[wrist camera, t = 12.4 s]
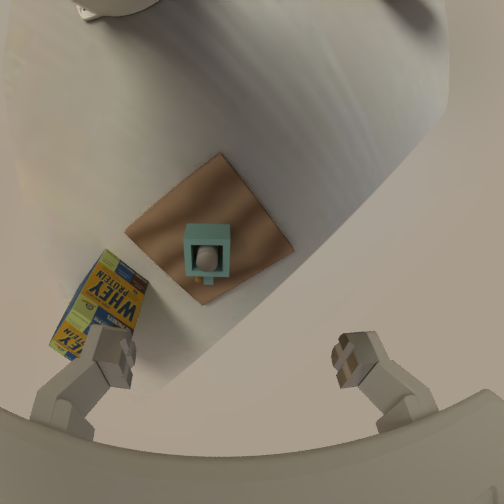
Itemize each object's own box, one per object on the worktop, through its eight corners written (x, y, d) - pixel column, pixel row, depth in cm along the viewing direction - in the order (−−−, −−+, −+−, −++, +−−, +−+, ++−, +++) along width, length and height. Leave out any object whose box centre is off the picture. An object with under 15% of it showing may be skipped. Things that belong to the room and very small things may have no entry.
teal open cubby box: (187, 223, 41) (183, 238, 38) (229, 224, 42) (230, 239, 38) (190, 276, 47) (187, 294, 43) (228, 277, 48) (228, 295, 44)
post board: (126, 228, 42) (112, 252, 36) (220, 152, 37) (219, 165, 31) (202, 301, 52) (200, 329, 46) (292, 247, 47) (302, 272, 41)
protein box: (150, 280, 48) (130, 346, 36) (113, 318, 53) (94, 376, 40) (105, 246, 44) (71, 307, 31) (75, 291, 49) (47, 346, 36)
